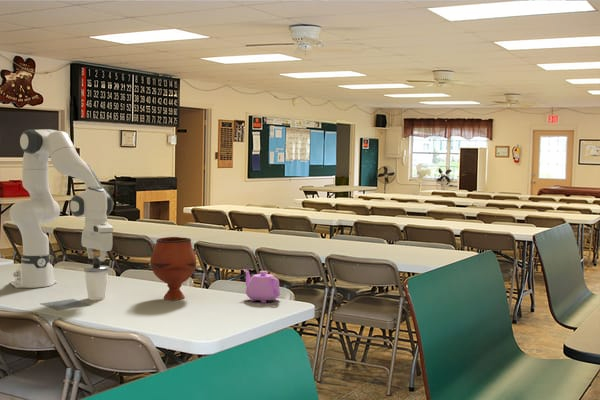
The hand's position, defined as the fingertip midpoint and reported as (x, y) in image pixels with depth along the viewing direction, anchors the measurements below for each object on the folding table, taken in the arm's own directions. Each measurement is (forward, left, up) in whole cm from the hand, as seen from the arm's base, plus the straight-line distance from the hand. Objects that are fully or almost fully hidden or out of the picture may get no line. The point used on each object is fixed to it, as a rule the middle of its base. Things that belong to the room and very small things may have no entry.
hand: (96, 259), depth 289 cm
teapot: (+46, +50, -17) cm, 70 cm away
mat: (+3, -15, -16) cm, 22 cm away
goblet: (+19, +25, -17) cm, 35 cm away
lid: (0, 0, -4) cm, 4 cm away
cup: (0, 0, -17) cm, 17 cm away
